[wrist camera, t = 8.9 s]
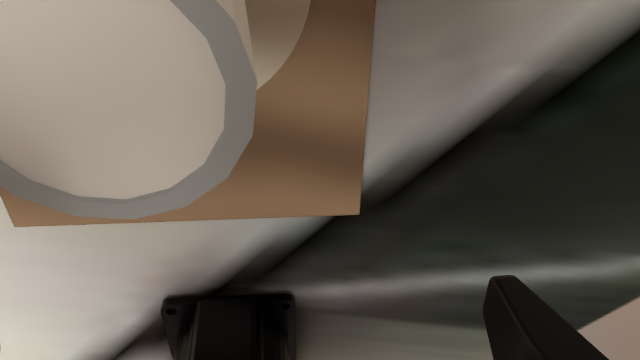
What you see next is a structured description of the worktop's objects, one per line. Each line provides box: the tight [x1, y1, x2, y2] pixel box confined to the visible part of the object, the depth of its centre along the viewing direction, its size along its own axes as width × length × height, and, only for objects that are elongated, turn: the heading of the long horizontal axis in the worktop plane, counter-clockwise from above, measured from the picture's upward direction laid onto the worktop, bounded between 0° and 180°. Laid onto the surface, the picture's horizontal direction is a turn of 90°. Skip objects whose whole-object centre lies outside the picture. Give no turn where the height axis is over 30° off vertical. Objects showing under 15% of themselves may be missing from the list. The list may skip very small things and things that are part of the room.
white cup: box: [0, 0, 257, 220], centre depth 14 cm, size 7×7×7 cm
